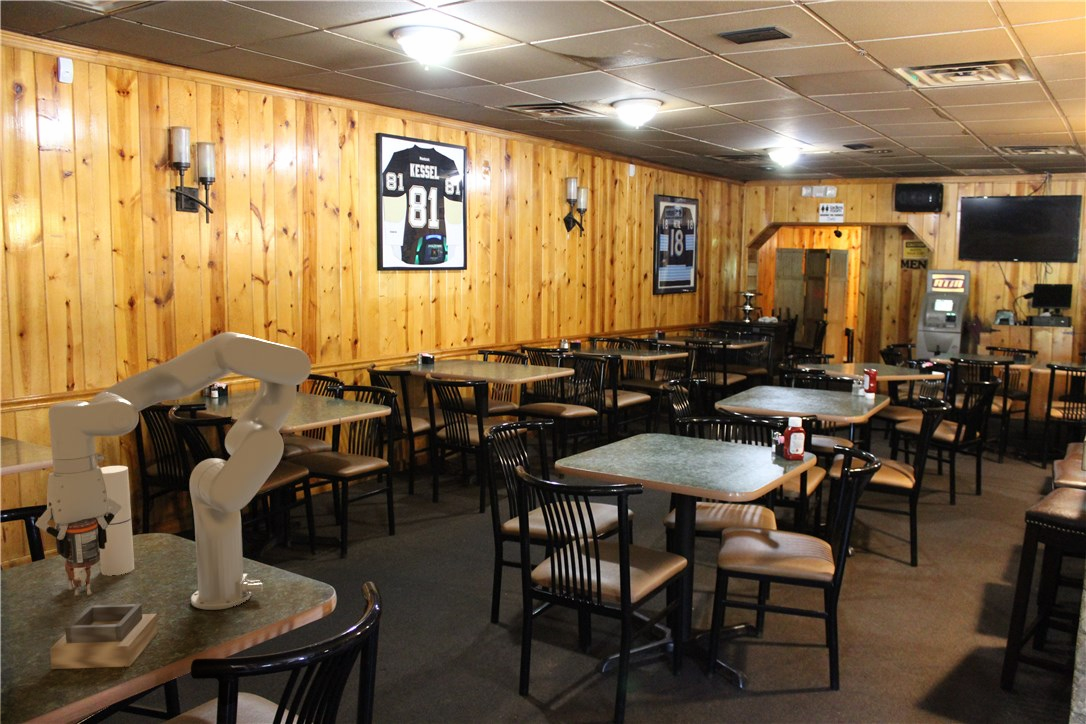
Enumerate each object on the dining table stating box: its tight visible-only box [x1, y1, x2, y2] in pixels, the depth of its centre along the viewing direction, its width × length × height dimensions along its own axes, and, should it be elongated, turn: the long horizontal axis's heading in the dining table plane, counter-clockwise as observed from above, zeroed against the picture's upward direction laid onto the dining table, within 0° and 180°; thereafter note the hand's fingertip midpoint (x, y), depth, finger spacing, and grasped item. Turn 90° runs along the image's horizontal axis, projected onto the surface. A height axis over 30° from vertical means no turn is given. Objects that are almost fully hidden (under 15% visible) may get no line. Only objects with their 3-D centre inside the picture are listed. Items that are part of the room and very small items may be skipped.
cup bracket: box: [49, 603, 159, 670], centre depth 163 cm, size 14×14×7 cm
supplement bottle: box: [65, 518, 101, 568], centre depth 168 cm, size 6×6×11 cm
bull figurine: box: [64, 561, 93, 597], centre depth 190 cm, size 4×13×8 cm, turn 36°
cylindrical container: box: [99, 465, 135, 577], centre depth 202 cm, size 7×7×25 cm
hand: (82, 551), depth 168 cm, fingers closed on supplement bottle, 6 cm apart
